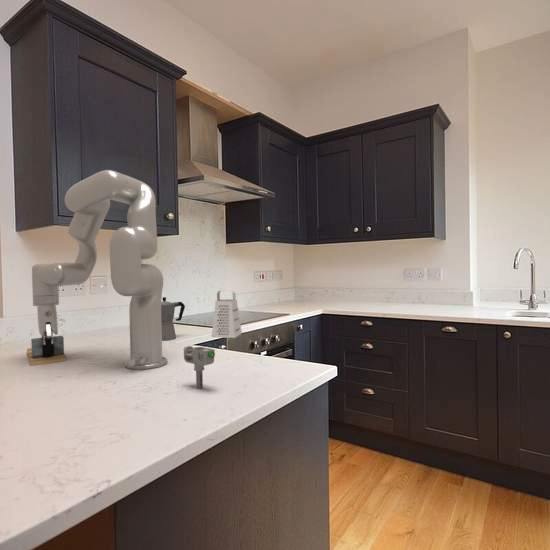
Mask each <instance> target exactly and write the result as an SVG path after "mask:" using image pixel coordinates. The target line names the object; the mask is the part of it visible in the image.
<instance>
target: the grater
mask: <svg viewBox="0 0 550 550" xmlns="http://www.w3.org/2000/svg"><path fill="white" fill-rule="evenodd" d="M222 291H223V292H231V293H232V299H221V292H222ZM213 311H214V313H213V321H212V322H213V323H212V332H211V338H222V339H223V338H227V339H229V338H230V339H235V338H237V337H239V336H240V335H242V333H243V331H242V327H241V326H242V325H241V320H240V313H239V307H238V299H236V292H235V290H233V289H232V290H229V289H228V290H227V289H226V290H225V289H223V290H221V289H220V290H218V291H217V292H216V300H215V303H214V310H213Z"/></svg>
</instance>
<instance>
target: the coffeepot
mask: <svg viewBox="0 0 550 550" xmlns="http://www.w3.org/2000/svg"><path fill="white" fill-rule="evenodd" d="M161 300H162V301H161V325H162V342H165V341H167V342H168V341H173V340H175V339H176V338H177V335H176V330H175V329H176V328H175V325H174V319H175V308H176V307H180V308H179V313H178V318H176V319H175V320H176V322H178V321H181V320H182V318H183V314H184V311H185V308H186V305H185V304H184V303H183V302H182V301H176V302H174V301H173V302H170V301H167V297H166V296H163V297H162V298H161Z"/></svg>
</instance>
